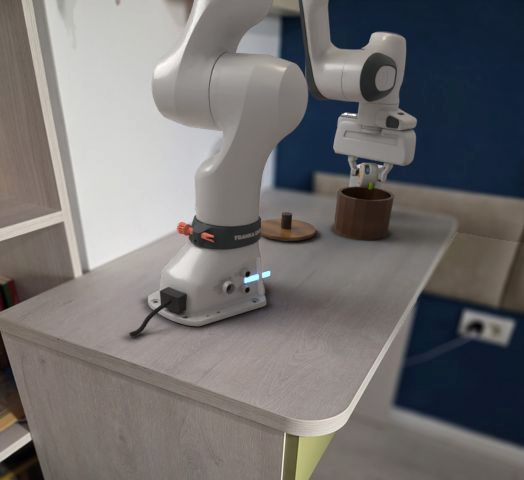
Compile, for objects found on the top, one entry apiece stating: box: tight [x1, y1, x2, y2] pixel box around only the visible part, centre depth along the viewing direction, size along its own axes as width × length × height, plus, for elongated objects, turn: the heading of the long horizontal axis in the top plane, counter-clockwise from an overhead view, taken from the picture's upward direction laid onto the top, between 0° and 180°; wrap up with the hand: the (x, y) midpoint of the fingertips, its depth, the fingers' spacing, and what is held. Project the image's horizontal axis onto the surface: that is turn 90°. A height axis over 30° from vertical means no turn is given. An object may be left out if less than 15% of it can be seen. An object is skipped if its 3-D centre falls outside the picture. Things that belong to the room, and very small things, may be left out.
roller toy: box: [358, 162, 379, 190], centre depth 121 cm, size 4×6×6 cm
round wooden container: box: [333, 186, 395, 241], centre depth 125 cm, size 14×14×10 cm
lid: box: [261, 211, 316, 242], centre depth 123 cm, size 15×15×5 cm
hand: (367, 178), depth 121 cm, fingers closed on roller toy, 6 cm apart
